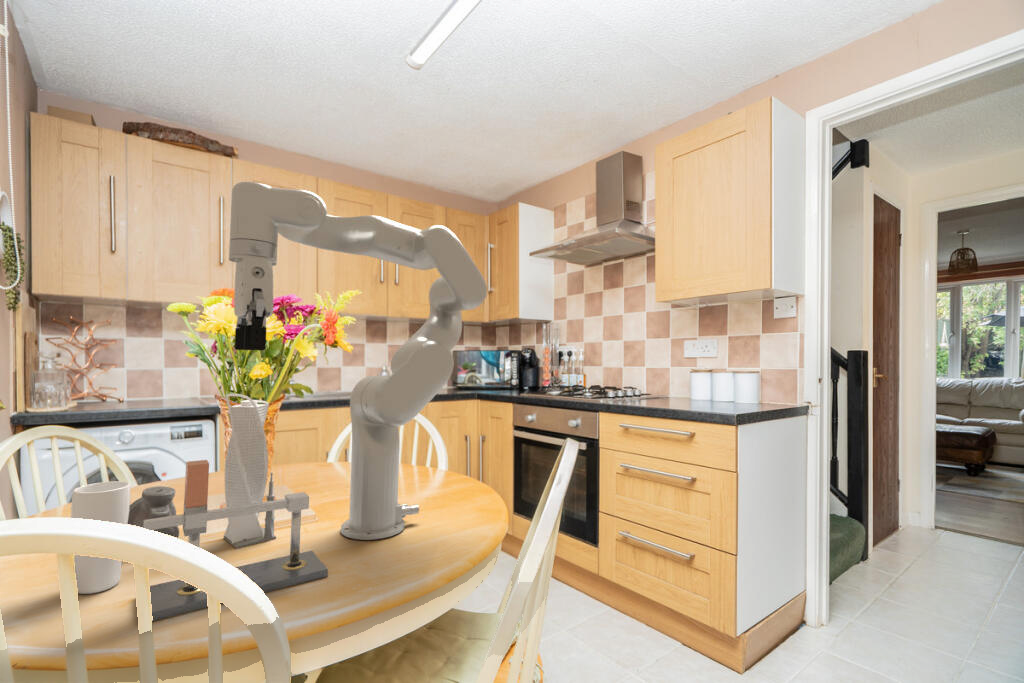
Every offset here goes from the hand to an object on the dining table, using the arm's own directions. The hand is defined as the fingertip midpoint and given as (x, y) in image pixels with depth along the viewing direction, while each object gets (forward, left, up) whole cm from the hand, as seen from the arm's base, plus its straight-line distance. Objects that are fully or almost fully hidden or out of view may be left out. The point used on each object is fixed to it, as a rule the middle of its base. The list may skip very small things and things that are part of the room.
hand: (249, 349), depth 85 cm
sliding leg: (+8, +11, -35) cm, 37 cm away
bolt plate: (+2, +12, -36) cm, 38 cm away
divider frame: (+3, +11, -35) cm, 37 cm away
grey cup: (+19, 0, -36) cm, 41 cm away
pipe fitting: (+12, -15, -37) cm, 41 cm away
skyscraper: (-2, -9, -36) cm, 38 cm away
